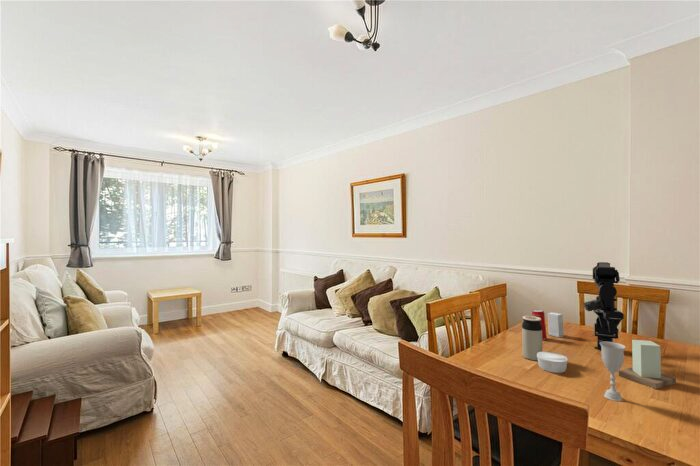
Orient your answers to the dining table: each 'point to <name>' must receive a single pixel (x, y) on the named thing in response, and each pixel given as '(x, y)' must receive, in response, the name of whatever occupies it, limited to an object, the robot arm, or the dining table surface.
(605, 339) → the robot arm
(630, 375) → the walnut board
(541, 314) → the beverage can
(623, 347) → the chalice
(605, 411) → the dining table surface
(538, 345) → the travel mug
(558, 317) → the skincare box
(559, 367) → the ramekin
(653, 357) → the sage block
